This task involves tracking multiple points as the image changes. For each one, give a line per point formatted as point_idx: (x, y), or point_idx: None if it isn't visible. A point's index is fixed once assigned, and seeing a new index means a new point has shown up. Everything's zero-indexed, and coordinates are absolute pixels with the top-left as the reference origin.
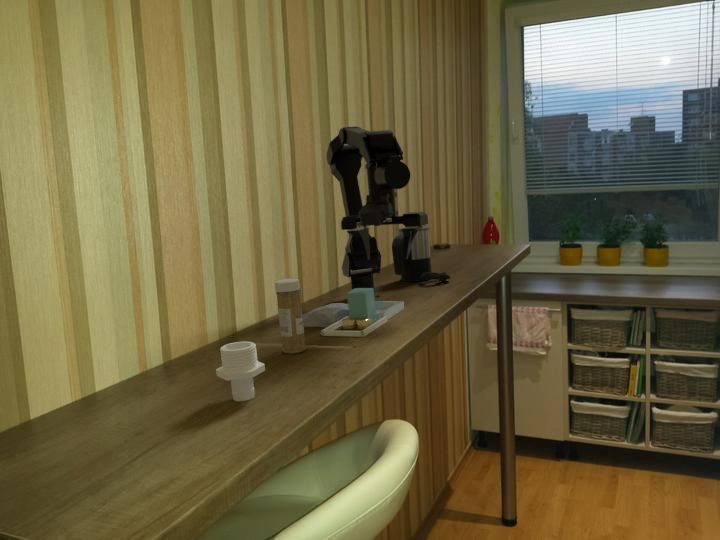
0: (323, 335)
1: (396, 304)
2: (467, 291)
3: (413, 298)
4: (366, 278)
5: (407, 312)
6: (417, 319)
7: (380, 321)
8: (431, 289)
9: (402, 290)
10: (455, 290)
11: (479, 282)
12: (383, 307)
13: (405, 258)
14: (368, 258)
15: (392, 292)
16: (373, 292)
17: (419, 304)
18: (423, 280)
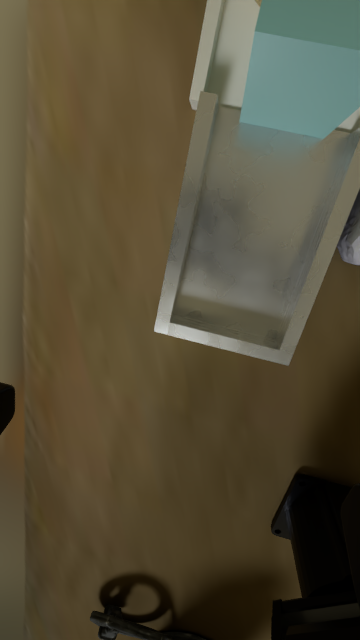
0: None
1: (172, 279)
2: (29, 498)
3: (160, 467)
4: (328, 567)
5: (145, 287)
6: (88, 166)
7: (208, 1)
8: (128, 547)
9: (208, 563)
10: (62, 517)
11: (26, 571)
12: (234, 331)
13: (1, 384)
14: (353, 503)
15: (235, 551)
16: (252, 46)
17: (127, 389)
18: (166, 632)
